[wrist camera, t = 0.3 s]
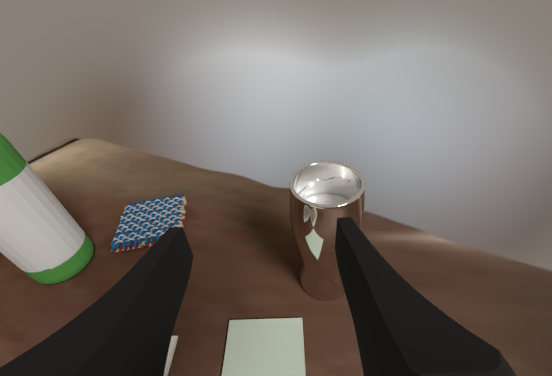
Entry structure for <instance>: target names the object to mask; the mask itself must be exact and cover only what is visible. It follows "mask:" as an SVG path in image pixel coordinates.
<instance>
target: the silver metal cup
mask: <svg viewBox="0 0 552 376" xmlns="http://www.w3.org/2000/svg"><path fill="white" fill-rule="evenodd" d="M289 185H290V221H291V228H292V232H293V236H294V239H295V242H296V245H297V248H298V251H299V253H300V256H301V260H302V263H301V268H300V273H299V279H300V283H301V285H302V287H303V289H304V290H305V291H306V292H307V293H308V294H309V295H311V296H312V297H314V298H317V299H320V300H333V299H336V298H338V297H340V296H342V295H343V294H344V293H345V290H344V287H343V283H342V280H341V276H340V273H339V269H338V264H337V259H336V253H335V239H336V227H337V218H344V217H351V218H352V219H353V220H354V221H355V223H356V224H357V226H358V227H359V228H360V230H361V228H362V223H363V216H364V201H365V179H364V177H363V176H362V174H361V173H360V172H359V171H358V170H357V169H355V168H354V167H352V166H350V165H348V164H345V163H342V162H336V161H317V162H312V163H309V164H306V165H304V166H302V167H300V168H299V169H298V170H297V171H295V172H294V173H293V175H292V176H291V178H290V182H289Z"/></svg>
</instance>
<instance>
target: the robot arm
mask: <svg viewBox="0 0 552 376" xmlns="http://www.w3.org/2000/svg"><path fill="white" fill-rule="evenodd" d="M335 253H336V259H337V264H338V269H339V273H340V276H341V280H342V283H343V287H344V290H345V293H346V297H347V300H348V304H349V307H350V310H351V314H352V318H353V322H354V326H355V331H356V336H357V341H358V346H359V351H360V357H361V362H362V367H363V373H364V376H516V374H515V373H514V371H513V370H512V368H511V367H510V365H509V364H508V362H507V361H506V360H505V358H504V357H503V356H502V354H501V353H500V351H499V350H497V349H496V348H494V347H493V346H491V345H490V344H488V343H487V342H485V341H484V340H482V339H480V338H479V337H477V336H476V335H474V334H473V333H471V332H470V331H468V330H467V329H465V328H464V327H462V326H461V325H460V324H458V323H457V322H455V321H454V320H453V319H451V318H450V317H448V316H447V315H446V314H445V313H443V312H442V311H441V310H440V309H438V308H437V307H436V306H435V305H433V304H432V303H431V302H429V301H428V300H427V299H426V298H424V297H423V296H422V295H421V294H420V293H419V292H418V291H416V290H415V289H414V288H413V287H412V286H411V285H410V284H409V283H408V282H407V281H405V280H404V279H403V278H402V277H401V276H400V275H399V274H398V273H397V272H396V271H395V270H394V269H393V268H392V267H391V266H390V264H389V263H388V262H387V261H386V260H385V259H384V258H383V257H382V256H381V255H380V253H379V252H378V251H377V250H376V249H375V247H374V246H373V245H372V244H371V243H370V241H369V240H368V239H367V238H366V236H365V235H364V234H363V232H362V231H361V230H360V228H359V227H358V226H357V224H356V223H355V221H354V220H353V219H352V218H351V217H344V218H337V227H336V239H335ZM192 261H193V254H192V251H191V248H190V246H189V243H188V241H187V238H186V235H185V233H184V230H183V228H182V227H169V228H168V230H167V231H166V232H165V233H164V234H163V235H162V236H161V237H160V238H159V239H158V241H157V242H156V243H155V244H154V245H153V246H152V247H151V248H150V250H149V251H148V252H147V253H146V254H145V255H144V256H143V257H142V258H141V259H140V260H139V261H138V262H137V264H136V265H135V266H134V267H133V268H132V269H131V270H130V271H129V272H128V273H127V274H126V275H125V276H124V277H123V278H122V279H121V280H120V281H119V282H117V283H116V284H115V285H114V286H113V287H112V288H111V289H110V290H109V291H108V292H106V293H105V294H104V295H103V296H102V297H101V298H100V299H98V300H97V301H96V302H95V303H94V304H92V305H91V306H90V307H89V308H87V309H86V310H85V311H83V312H82V313H81V314H80V315H78V316H77V317H76V318H74V319H73V320H72V321H70V322H69V323H68V324H66V325H65V326H64V327H62V328H61V329H59V330H58V331H57V332H55V333H54V334H52V335H51V336H49V337H48V338H46V339H45V340H43V341H42V342H40V343H39V344H37V345H36V346H34V347H33V348H31V349H30V350H28V351H26V352H25V353H23V354H22V355H20V356H18V357H17V358H15V359H14V360H12V361H10V362H9V363H7V364H6V365H4V366H2V367H1V368H0V376H164V371H165V366H166V360H167V355H168V350H169V346H170V341H171V336H172V332H173V328H174V325H175V321H176V318H177V315H178V312H179V309H180V305H181V302H182V299H183V296H184V293H185V290H186V287H187V283H188V280H189V277H190V272H191V267H192Z"/></svg>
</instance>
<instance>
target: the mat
mask: <svg viewBox="0 0 552 376" xmlns="http://www.w3.org/2000/svg"><path fill="white" fill-rule="evenodd" d="M222 376H306V374H305V357H304V340H303V324H302V318H279V319H248V320H230V321H229V328H228V335H227V342H226V349H225V356H224V363H223V370H222Z"/></svg>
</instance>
